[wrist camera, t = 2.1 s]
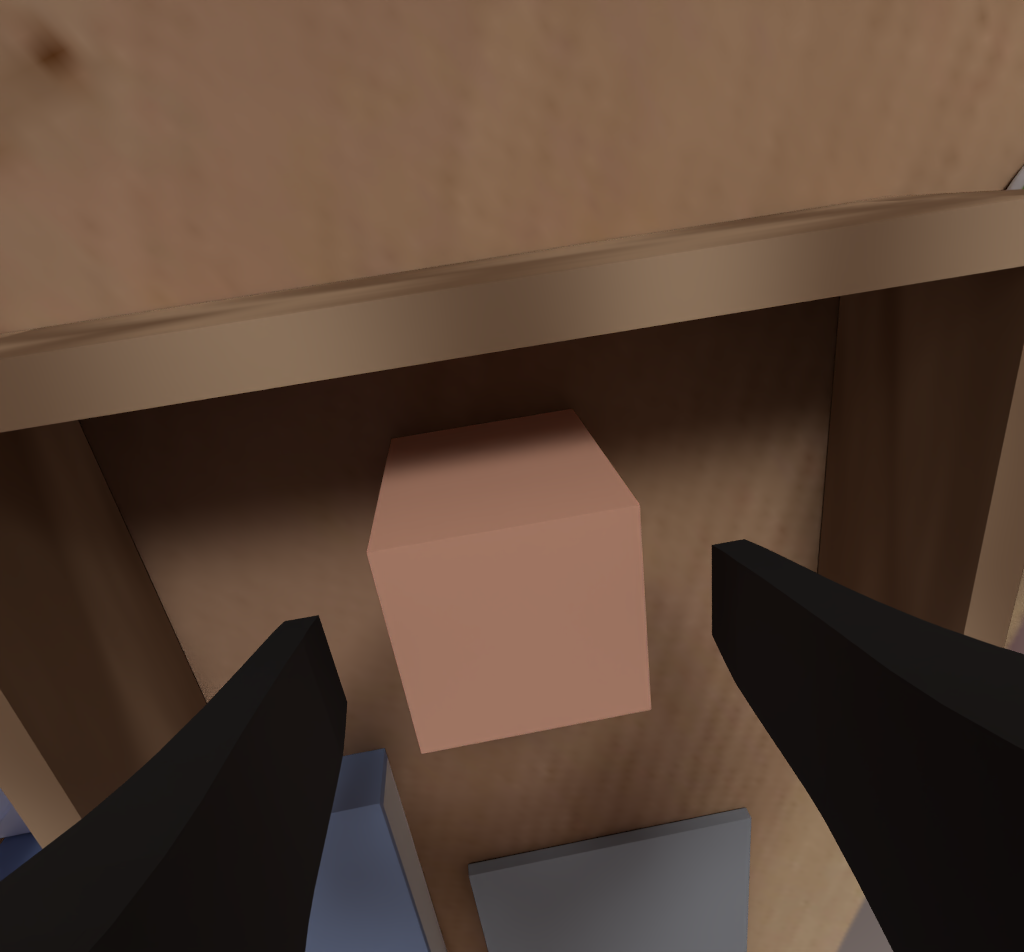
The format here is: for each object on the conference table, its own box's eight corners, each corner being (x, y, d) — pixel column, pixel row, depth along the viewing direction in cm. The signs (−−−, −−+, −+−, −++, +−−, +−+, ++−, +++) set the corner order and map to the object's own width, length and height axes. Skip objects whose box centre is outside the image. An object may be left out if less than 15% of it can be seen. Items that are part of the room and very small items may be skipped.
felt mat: (508, 1020, 25) (509, 1032, 25) (468, 864, 21) (468, 875, 20) (741, 969, 25) (745, 980, 25) (745, 807, 21) (751, 817, 21)
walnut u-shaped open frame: (176, 721, 17) (80, 904, 13) (-13, 335, 13) (-266, 400, 8) (847, 595, 18) (986, 721, 14) (890, 196, 14) (1117, 184, 9)
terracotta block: (427, 590, 16) (421, 753, 11) (391, 438, 15) (366, 552, 10) (587, 561, 17) (651, 709, 12) (571, 408, 15) (639, 504, 10)
